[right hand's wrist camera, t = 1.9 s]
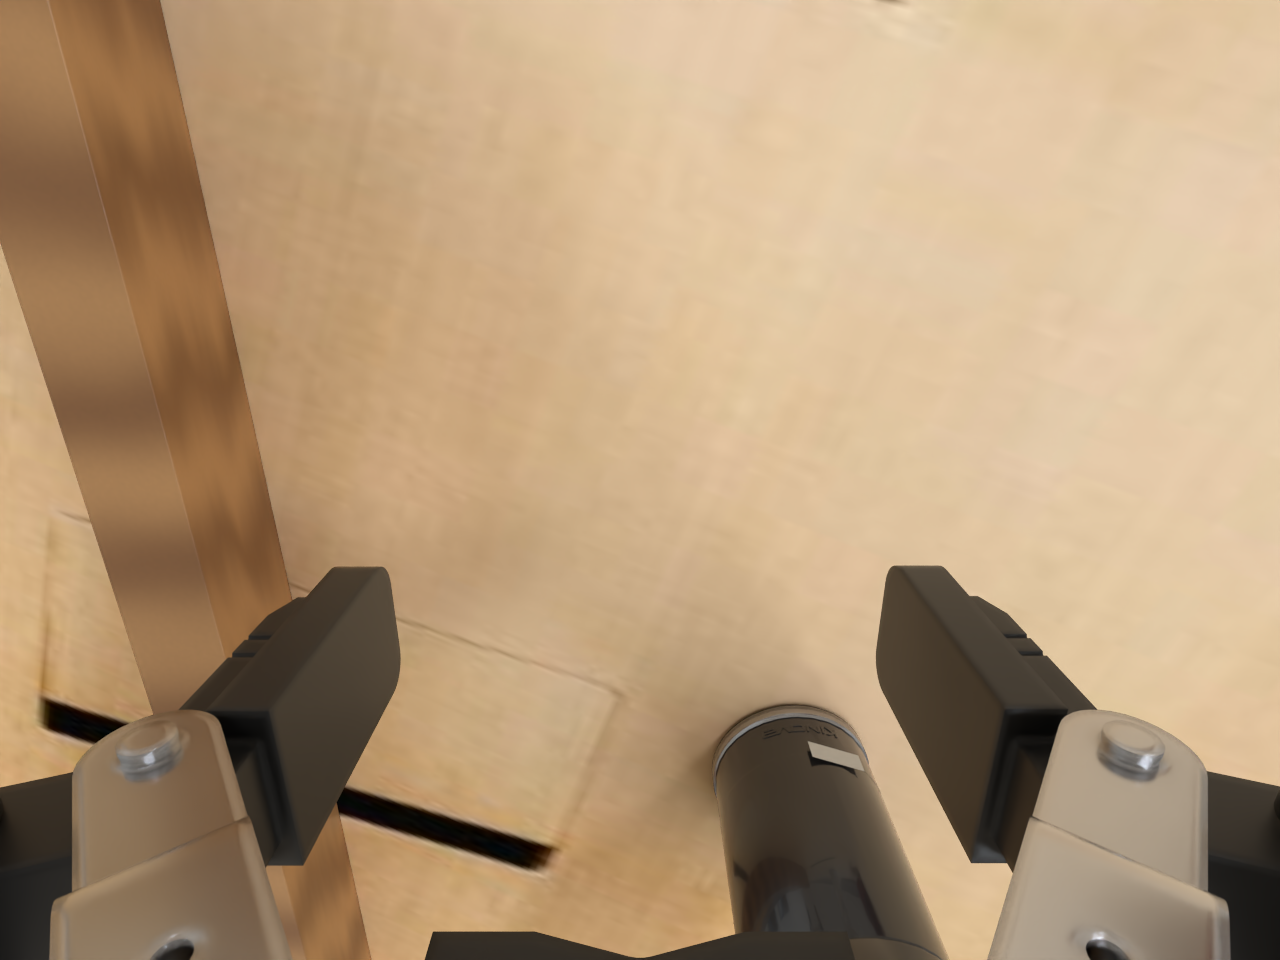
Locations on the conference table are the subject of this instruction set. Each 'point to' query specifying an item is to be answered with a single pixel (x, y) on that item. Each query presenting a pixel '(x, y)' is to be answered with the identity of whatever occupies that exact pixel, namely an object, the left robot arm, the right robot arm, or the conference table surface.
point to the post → (147, 369)
